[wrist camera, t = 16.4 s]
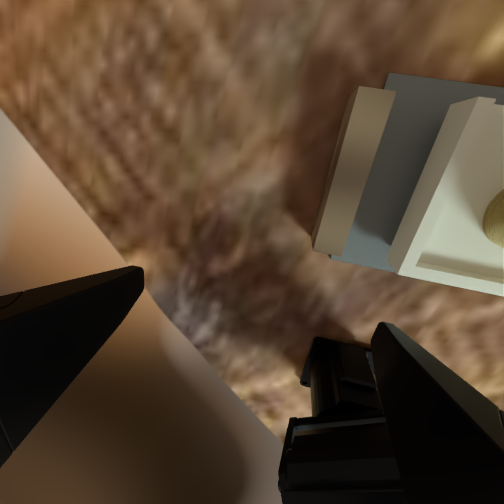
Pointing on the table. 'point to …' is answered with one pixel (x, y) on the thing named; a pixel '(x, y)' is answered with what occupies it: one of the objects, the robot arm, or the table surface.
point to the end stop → (350, 167)
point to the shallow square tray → (456, 203)
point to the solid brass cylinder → (495, 220)
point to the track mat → (402, 161)
